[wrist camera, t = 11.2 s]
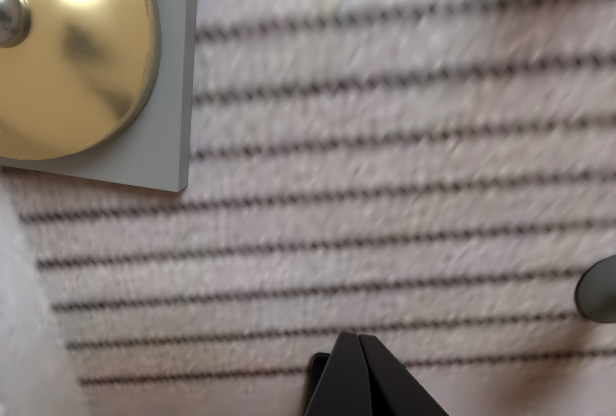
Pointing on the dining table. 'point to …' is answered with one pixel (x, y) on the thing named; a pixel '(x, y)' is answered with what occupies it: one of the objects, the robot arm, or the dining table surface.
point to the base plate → (146, 120)
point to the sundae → (599, 292)
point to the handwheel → (73, 72)
